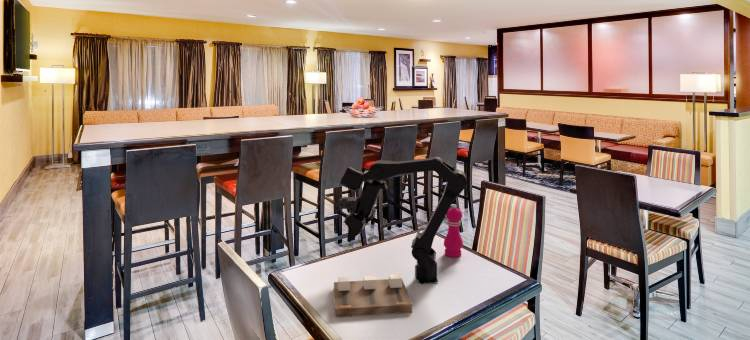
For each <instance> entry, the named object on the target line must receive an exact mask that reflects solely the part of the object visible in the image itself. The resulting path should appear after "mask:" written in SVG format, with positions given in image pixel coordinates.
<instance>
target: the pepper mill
mask: <svg viewBox="0 0 750 340" xmlns="http://www.w3.org/2000/svg"><path fill="white" fill-rule="evenodd" d="M445 218H446V219H447V223H446V224H447V225H448V228H447V230H448V231H447V233H446V236H445V237H444V240H443V246H444V247H445V248H444V255H445V256H446V257H449V258H452V259H453V258H454V257H456V258H460V257H461V256H462V248H463V246H464V241H463V238H462V235H461V234H460V226H461V223H462V222H461V220H462V218H463V212H462V210H461V209H459V208H458V206H457V204H456V203H455V204H454V203H452V204H451V207H450V208H449V210H448V212H447V214H446V216H445Z"/></svg>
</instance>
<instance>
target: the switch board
mask: <svg viewBox="0 0 750 340" xmlns="http://www.w3.org/2000/svg"><path fill="white" fill-rule="evenodd" d="M333 291H334V292H333V295H334V313H335V314H334V316H335V317H334V318H344V317H359V316H376V315H391V314H406V313H407V314H409V313H413V303H412V301H411V297H410V295H409V293H408V291H407V288H406V285H405V282H404V280H403V279H402V287H400V288H390V285H389V278H387V279H376V289H364V280H354V281H353V280H350V290H348V291H338V281H334V282H333Z"/></svg>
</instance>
